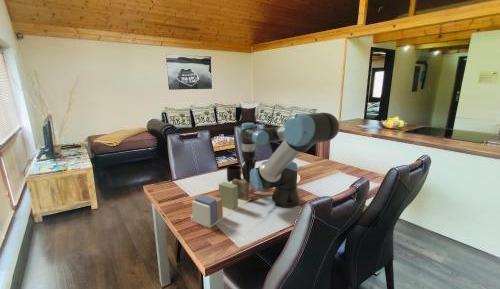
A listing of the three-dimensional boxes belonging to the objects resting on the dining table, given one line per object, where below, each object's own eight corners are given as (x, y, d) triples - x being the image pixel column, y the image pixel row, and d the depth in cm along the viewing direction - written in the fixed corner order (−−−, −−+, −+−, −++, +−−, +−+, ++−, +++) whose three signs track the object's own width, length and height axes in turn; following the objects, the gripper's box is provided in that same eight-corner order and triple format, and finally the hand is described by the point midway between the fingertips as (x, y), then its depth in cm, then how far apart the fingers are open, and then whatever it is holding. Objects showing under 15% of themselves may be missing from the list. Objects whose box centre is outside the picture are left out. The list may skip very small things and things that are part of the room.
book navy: (217, 221, 118) (216, 199, 116) (210, 225, 115) (209, 203, 112) (202, 216, 123) (201, 195, 121) (196, 220, 120) (194, 198, 117)
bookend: (248, 198, 141) (248, 182, 139) (245, 200, 139) (245, 183, 136) (235, 195, 146) (235, 178, 144) (232, 197, 143) (232, 180, 141)
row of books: (251, 201, 141) (251, 182, 138) (210, 230, 113) (208, 207, 111) (234, 196, 147) (233, 178, 145) (191, 222, 120) (189, 200, 117)
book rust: (222, 216, 122) (222, 198, 120) (217, 220, 119) (216, 201, 117) (210, 212, 127) (209, 194, 124) (204, 215, 123) (203, 197, 121)
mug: (234, 185, 164) (234, 171, 161) (224, 179, 173) (224, 167, 170) (246, 181, 169) (246, 168, 167) (235, 176, 178) (235, 164, 176)
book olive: (237, 206, 132) (237, 185, 129) (233, 210, 129) (232, 188, 126) (224, 202, 137) (223, 181, 134) (219, 205, 133) (218, 184, 131)
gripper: (249, 147, 150) (249, 184, 156) (236, 151, 140) (237, 191, 145) (260, 148, 146) (260, 186, 152) (247, 153, 136) (247, 194, 141)
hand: (248, 189), depth 149 cm, fingers closed
